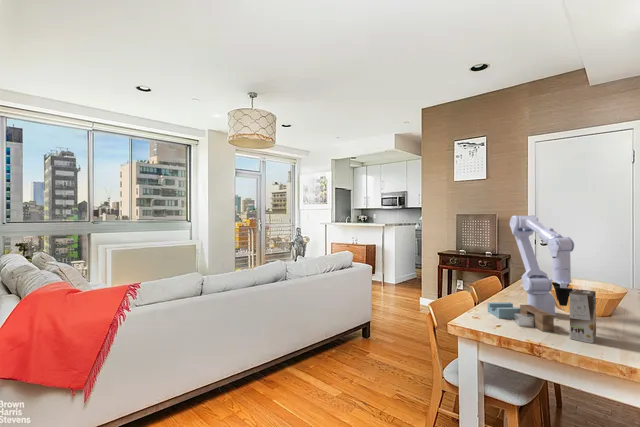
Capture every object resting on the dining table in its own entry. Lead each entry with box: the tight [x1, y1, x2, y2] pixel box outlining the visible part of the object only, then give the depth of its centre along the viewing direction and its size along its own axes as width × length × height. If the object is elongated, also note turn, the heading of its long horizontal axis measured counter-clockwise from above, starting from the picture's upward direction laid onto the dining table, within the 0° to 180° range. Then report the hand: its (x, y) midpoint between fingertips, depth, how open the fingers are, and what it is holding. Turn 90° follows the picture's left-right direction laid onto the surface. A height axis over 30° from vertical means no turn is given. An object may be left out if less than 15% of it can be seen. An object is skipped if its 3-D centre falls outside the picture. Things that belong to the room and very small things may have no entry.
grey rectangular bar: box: [514, 313, 535, 328], centre depth 126 cm, size 12×4×4 cm, turn 79°
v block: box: [487, 301, 520, 320], centre depth 139 cm, size 10×10×4 cm
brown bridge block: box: [519, 304, 555, 332], centre depth 126 cm, size 4×14×6 cm, turn 178°
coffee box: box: [569, 288, 597, 344], centre depth 113 cm, size 9×6×16 cm
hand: (561, 303), depth 126 cm, fingers open, 7 cm apart
